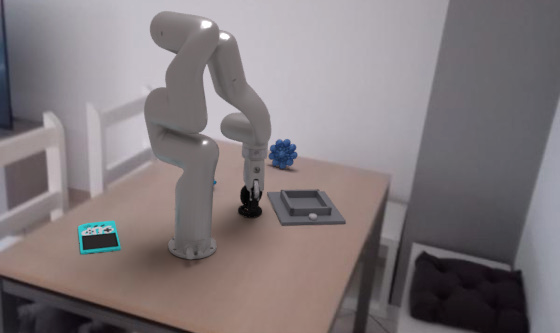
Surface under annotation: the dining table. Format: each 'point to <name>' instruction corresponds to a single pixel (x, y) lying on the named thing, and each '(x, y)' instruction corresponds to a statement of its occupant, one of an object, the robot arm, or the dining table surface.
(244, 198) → the webcam
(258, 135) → the robot arm
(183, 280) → the dining table surface
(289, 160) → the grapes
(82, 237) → the handheld game console
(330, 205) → the housing
